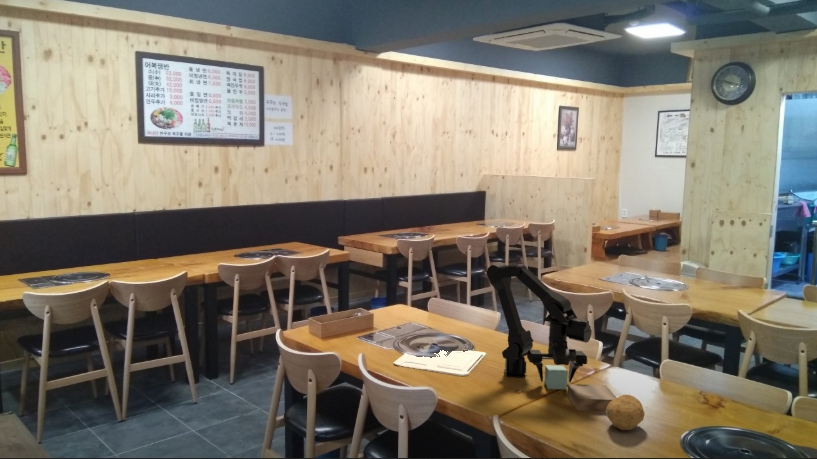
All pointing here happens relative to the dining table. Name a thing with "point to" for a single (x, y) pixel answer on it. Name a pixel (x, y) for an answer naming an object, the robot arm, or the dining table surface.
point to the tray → (444, 362)
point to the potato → (625, 412)
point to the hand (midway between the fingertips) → (555, 381)
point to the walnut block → (590, 397)
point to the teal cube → (556, 377)
